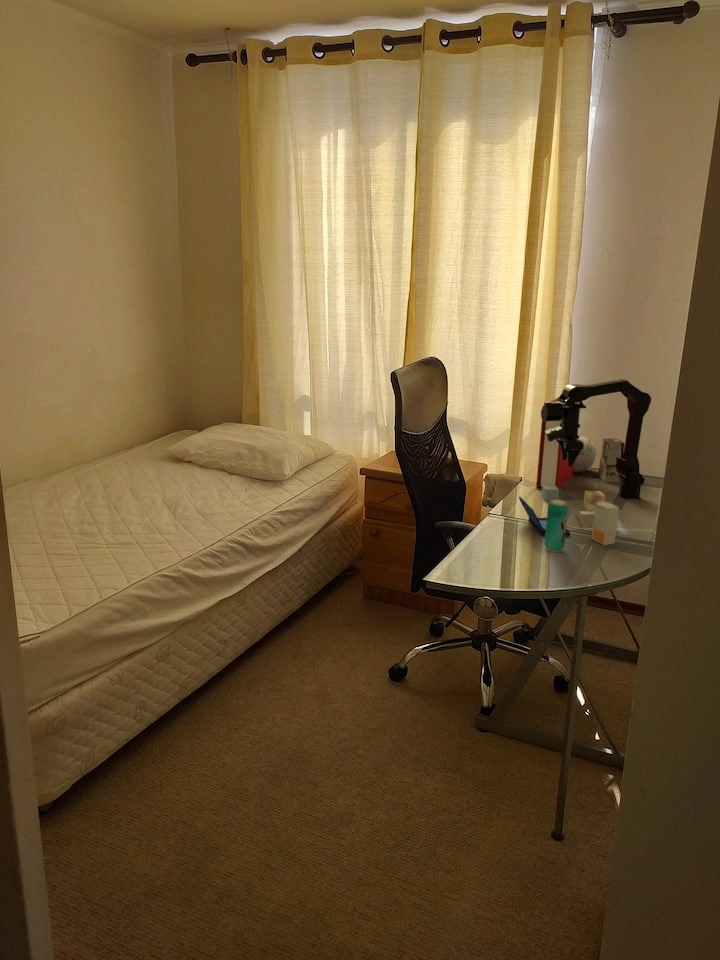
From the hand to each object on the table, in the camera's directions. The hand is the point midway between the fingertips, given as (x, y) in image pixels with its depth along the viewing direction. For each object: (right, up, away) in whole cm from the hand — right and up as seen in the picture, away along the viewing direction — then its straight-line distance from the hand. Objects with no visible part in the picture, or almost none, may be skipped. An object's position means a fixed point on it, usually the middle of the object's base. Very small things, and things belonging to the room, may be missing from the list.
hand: (567, 463), depth 268 cm
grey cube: (-6, -14, +2) cm, 15 cm away
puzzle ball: (+15, -3, +43) cm, 46 cm away
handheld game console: (-16, -22, -28) cm, 39 cm away
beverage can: (-17, -27, -46) cm, 56 cm away
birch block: (+7, -16, -8) cm, 19 cm away
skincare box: (0, -25, -38) cm, 46 cm away
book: (+3, -7, +28) cm, 29 cm away
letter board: (+7, -17, -8) cm, 20 cm away
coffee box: (+26, -6, +32) cm, 41 cm away
